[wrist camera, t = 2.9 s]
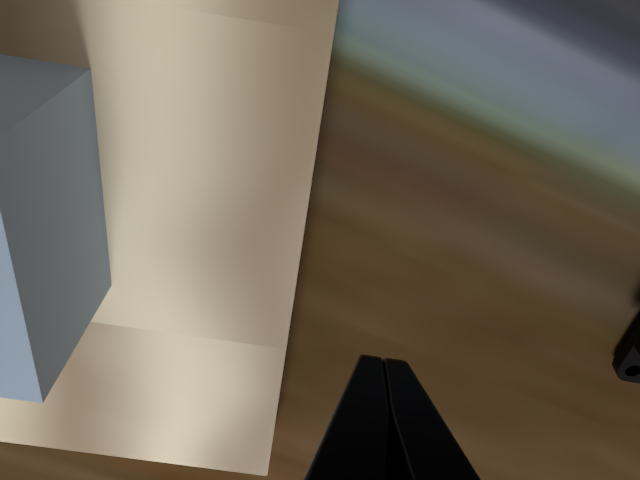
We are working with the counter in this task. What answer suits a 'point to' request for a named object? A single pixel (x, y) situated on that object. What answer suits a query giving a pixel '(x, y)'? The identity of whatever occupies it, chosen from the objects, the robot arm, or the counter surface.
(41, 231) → the block
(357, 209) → the counter surface
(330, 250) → the counter surface
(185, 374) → the trap board
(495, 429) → the counter surface
